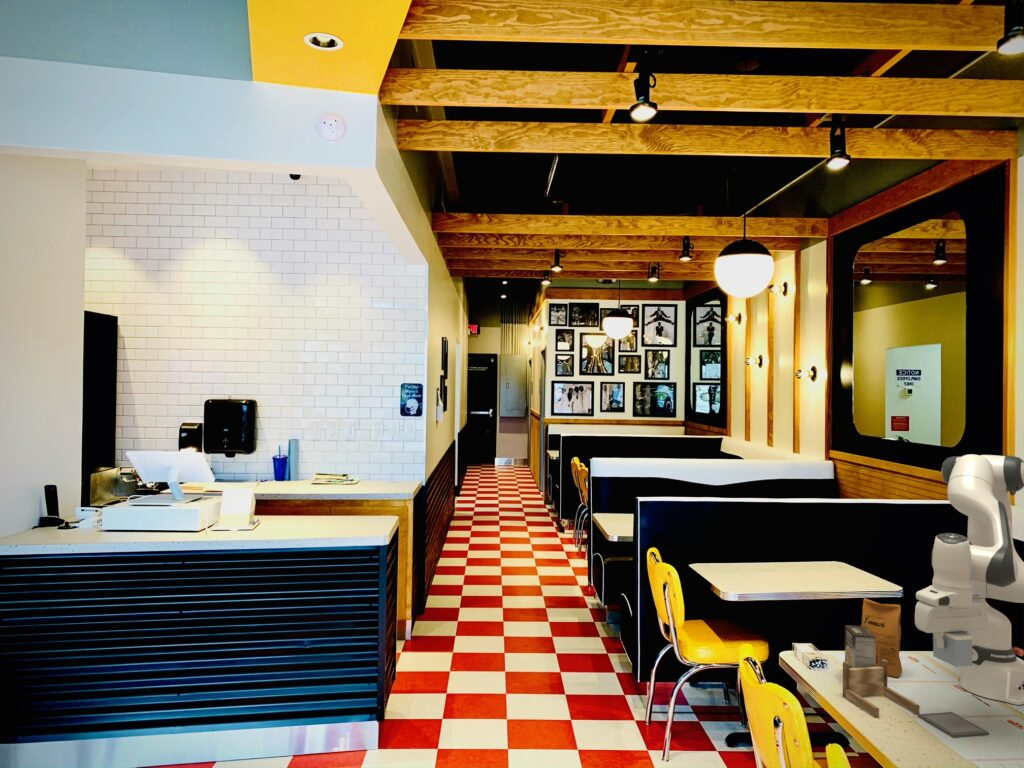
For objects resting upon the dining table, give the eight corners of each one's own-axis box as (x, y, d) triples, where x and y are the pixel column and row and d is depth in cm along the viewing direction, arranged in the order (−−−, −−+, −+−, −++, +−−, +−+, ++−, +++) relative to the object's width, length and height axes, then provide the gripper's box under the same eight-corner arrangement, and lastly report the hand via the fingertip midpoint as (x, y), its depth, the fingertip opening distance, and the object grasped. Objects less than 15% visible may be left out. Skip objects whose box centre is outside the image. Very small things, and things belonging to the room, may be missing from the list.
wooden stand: (884, 693, 183) (884, 659, 184) (919, 714, 171) (919, 677, 171) (842, 696, 181) (842, 661, 181) (875, 717, 168) (875, 680, 169)
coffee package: (861, 659, 209) (862, 594, 209) (904, 670, 200) (904, 602, 201) (854, 668, 201) (854, 600, 202) (898, 680, 193) (898, 609, 194)
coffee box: (843, 675, 195) (844, 624, 196) (865, 677, 194) (866, 626, 195) (853, 688, 186) (854, 634, 187) (876, 690, 185) (877, 636, 186)
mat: (951, 713, 172) (951, 711, 172) (989, 734, 161) (989, 732, 161) (917, 716, 170) (917, 714, 170) (953, 737, 159) (953, 735, 159)
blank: (948, 655, 170) (948, 625, 170) (972, 665, 163) (972, 635, 163) (932, 656, 169) (932, 626, 169) (956, 666, 162) (955, 636, 162)
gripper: (973, 590, 172) (973, 641, 171) (910, 592, 168) (910, 644, 167) (995, 597, 165) (995, 649, 165) (930, 600, 162) (930, 653, 161)
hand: (952, 647), depth 166 cm, fingers closed on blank, 5 cm apart
